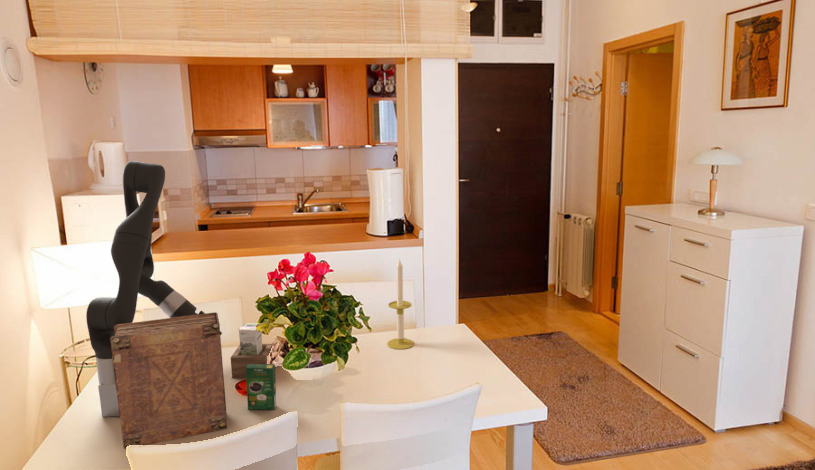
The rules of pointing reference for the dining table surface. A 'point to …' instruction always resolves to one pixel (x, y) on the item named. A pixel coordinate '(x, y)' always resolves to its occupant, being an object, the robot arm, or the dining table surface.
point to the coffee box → (261, 386)
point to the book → (169, 378)
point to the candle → (400, 314)
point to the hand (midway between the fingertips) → (216, 340)
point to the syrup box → (250, 340)
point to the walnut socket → (247, 360)
